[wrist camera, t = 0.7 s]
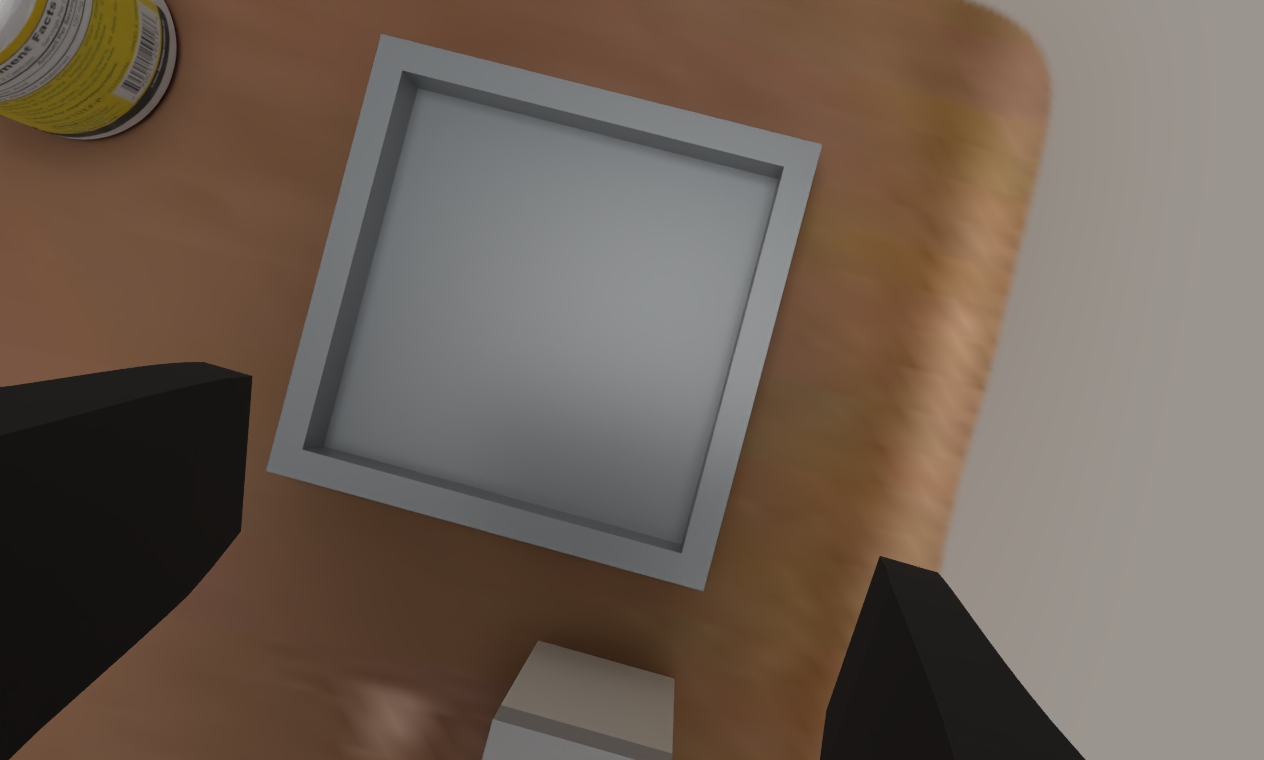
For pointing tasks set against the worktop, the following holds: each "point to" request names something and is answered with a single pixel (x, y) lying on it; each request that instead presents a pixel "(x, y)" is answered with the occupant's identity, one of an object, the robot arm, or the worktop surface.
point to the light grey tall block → (582, 711)
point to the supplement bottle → (84, 63)
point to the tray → (544, 310)
